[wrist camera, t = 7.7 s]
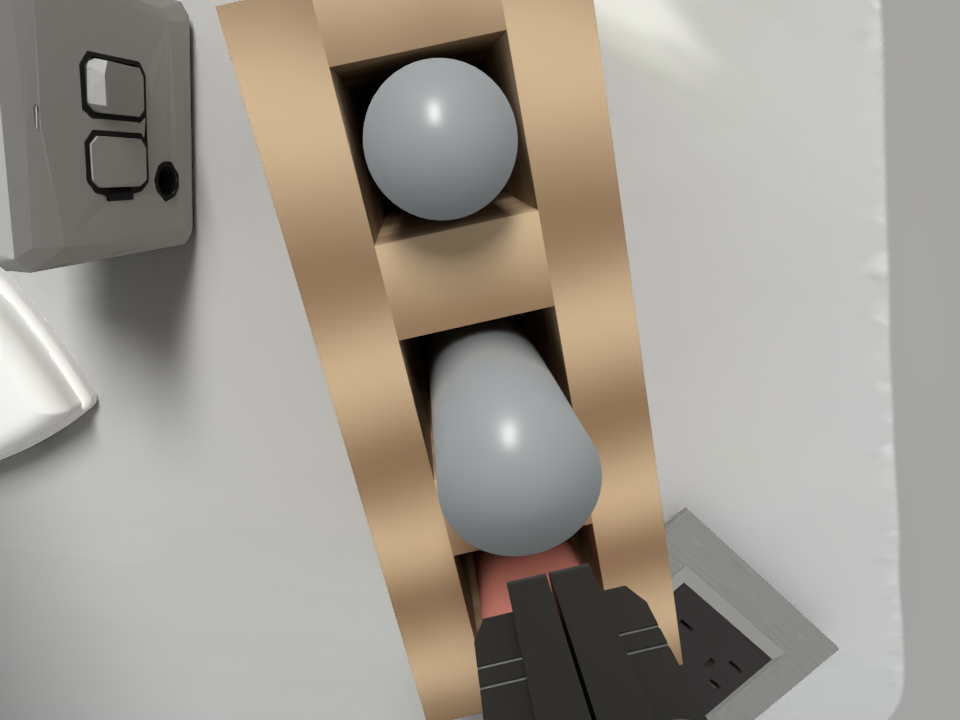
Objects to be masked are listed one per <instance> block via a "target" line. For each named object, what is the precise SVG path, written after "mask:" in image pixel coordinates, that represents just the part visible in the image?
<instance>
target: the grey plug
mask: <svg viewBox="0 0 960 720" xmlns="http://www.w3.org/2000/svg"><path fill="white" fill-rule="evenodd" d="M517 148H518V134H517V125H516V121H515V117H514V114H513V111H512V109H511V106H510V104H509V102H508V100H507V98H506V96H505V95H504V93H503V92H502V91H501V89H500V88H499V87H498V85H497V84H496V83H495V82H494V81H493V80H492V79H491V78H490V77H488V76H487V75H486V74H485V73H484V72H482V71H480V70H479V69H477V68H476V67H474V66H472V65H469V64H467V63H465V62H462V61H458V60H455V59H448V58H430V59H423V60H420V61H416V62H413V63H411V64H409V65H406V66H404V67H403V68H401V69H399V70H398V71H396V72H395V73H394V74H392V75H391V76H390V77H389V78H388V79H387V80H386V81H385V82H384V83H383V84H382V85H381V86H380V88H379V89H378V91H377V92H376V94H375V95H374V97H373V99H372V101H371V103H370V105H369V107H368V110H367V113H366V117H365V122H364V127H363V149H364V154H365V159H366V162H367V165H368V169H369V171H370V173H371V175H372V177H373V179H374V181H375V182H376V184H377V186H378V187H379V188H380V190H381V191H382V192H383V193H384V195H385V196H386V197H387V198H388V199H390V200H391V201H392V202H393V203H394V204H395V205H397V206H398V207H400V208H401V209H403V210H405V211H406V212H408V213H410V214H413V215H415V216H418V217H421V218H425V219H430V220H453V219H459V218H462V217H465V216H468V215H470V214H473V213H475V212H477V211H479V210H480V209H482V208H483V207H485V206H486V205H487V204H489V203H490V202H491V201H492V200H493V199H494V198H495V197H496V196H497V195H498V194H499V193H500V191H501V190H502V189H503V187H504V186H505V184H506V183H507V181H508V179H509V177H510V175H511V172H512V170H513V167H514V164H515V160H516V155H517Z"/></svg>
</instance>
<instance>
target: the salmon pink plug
mask: <svg viewBox="0 0 960 720" xmlns="http://www.w3.org/2000/svg"><path fill="white" fill-rule="evenodd" d="M473 558H474V565H475V571H476V578H477V585H478V592H479V598H480V605H481V612H482V618H483V619H484V618H488V617H492V616H497V615H501V614H505V613H510V612H512V607H511V602H510V598H509V593H508V588H507V584H506V582H509V581H514V580H518V579H522V578H527V577H531V576H535V575H540V574H544V573H546V576H547V579H548V582H549V585H550V580H549V572H552V571H556V570H561V569H565V568H569V567H573V566H578V565H582V564H581V561H580V559H579V556H578V554H577V551H576V549H575V546H574V544H573V541H572V539H571V537H570V538H569V539H567V540H566V541H564V542H563V543H561V544H559V545H557V546H556V547H554V548H551V549H549V550H546V551H544V552H540V553H537V554H532V555H526V556H502V555H496V554H492V553H489V552H485V551H483V550H477V551H473ZM550 588H551V585H550ZM551 592H552V590H551Z"/></svg>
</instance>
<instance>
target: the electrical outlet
mask: <svg viewBox="0 0 960 720" xmlns="http://www.w3.org/2000/svg"><path fill="white" fill-rule="evenodd" d="M665 535H666V542H667V550H668V557H669V565H670V572H671V579H672V587H673V594H674V602H675V609H676V616H677V624H678V631H679V639H680V646H681V653H682V661H683V664H682V665H679V666H680V668H681V670H682V671H683V673H684V675H685V677H686V679H687V681H688V683H689V685H690V687H691V689H692V691H693V693H694V695H695V697H696V699H697V701H698V703H699V704H700V706H701V708H702V710H703V712H704V714H705V716H706V718H707V719H708V720H754V719H755V718H757V717H758V716H759V715H760V714H762V713H763V712H764V711H765V710H766V709H768V708H769V707H770V706H771V705H772V704H774V703H775V702H776V701H777V700H778V699H780V698H781V697H782V696H783V695H784V694H786V693H787V692H788V691H789V690H790V689H792V688H793V687H794V686H795V685H796V684H798V683H799V682H800V681H801V680H802V679H804V678H805V677H806V676H807V675H808V674H810V673H811V672H812V671H813V670H814V669H816V668H817V667H818V666H819V665H820V664H822V663H823V662H824V661H825V660H827V659H828V658H829V657H830V656H831V655H833V654H834V653H835V652H836V651H837V650H839V648H838V647H837V646H836V645H835V644H834V643H833V642H832V641H831V640H829V639H828V638H827V637H826V636H825V635H824V634H823V633H822V632H821V631H820V630H819V629H817V628H816V627H815V626H814V625H813V624H812V623H811V622H810V621H809V620H808V619H807V618H805V617H804V616H803V615H802V614H801V613H800V612H799V611H798V610H797V609H796V608H795V607H793V606H792V605H791V604H790V603H789V602H788V601H787V600H786V599H785V598H784V597H783V596H781V595H780V594H779V593H778V592H777V591H776V590H775V589H774V588H773V587H772V586H771V585H769V584H768V583H767V582H766V581H765V580H764V579H763V578H762V577H761V576H760V575H759V574H758V573H756V572H755V571H754V570H753V569H752V568H751V567H750V566H749V565H748V564H747V563H746V562H744V561H743V560H742V559H741V558H740V557H739V556H738V555H737V554H736V553H735V552H734V551H732V550H731V549H730V548H729V547H728V546H727V545H726V544H725V543H724V542H723V541H722V540H720V539H719V538H718V537H717V536H716V535H715V534H714V533H713V532H712V531H711V530H710V529H708V528H707V527H706V526H705V525H704V524H703V523H702V522H701V521H700V520H699V519H698V518H696V517H695V516H694V515H693V514H692V513H691V512H690V511H689V510H688V509H687V508H686V507H685V508H684V509H683V510H682V511H681V512H680V513H679V514H678V515H677V516H675V517H674V518H673V519H672V520H671V521H670V522H669V523H668V524H667V525H666V526H665Z"/></svg>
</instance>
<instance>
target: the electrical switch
mask: <svg viewBox="0 0 960 720" xmlns="http://www.w3.org/2000/svg"><path fill="white" fill-rule="evenodd" d="M192 229H193V218H192V155H191V93H190V30H189V17H188V14H187V12H186V10H185V9H184V7H183V5H182V3H181V2H179V1H176V0H0V267H1V268H2V269H4V270H5V271H18V272H29V273H31V272H37V271H42V270H48V269H53V268H58V267H64V266H69V265H75V264H80V263H86V262H91V261H96V260H102V259H107V258H113V257H118V256H123V255H129V254H134V253H140V252H145V251H150V250H156V249H161V248H167V247H172V246H178V245H183V244H186V242H187V240H188V239H189V237H190V235H191V233H192Z"/></svg>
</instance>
